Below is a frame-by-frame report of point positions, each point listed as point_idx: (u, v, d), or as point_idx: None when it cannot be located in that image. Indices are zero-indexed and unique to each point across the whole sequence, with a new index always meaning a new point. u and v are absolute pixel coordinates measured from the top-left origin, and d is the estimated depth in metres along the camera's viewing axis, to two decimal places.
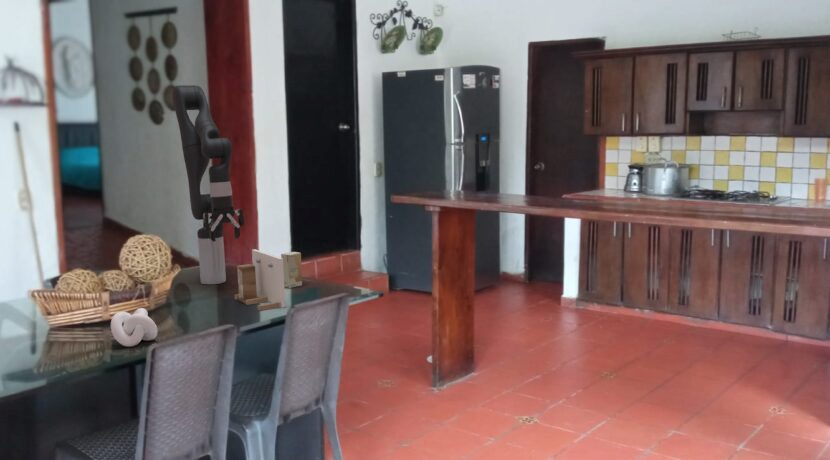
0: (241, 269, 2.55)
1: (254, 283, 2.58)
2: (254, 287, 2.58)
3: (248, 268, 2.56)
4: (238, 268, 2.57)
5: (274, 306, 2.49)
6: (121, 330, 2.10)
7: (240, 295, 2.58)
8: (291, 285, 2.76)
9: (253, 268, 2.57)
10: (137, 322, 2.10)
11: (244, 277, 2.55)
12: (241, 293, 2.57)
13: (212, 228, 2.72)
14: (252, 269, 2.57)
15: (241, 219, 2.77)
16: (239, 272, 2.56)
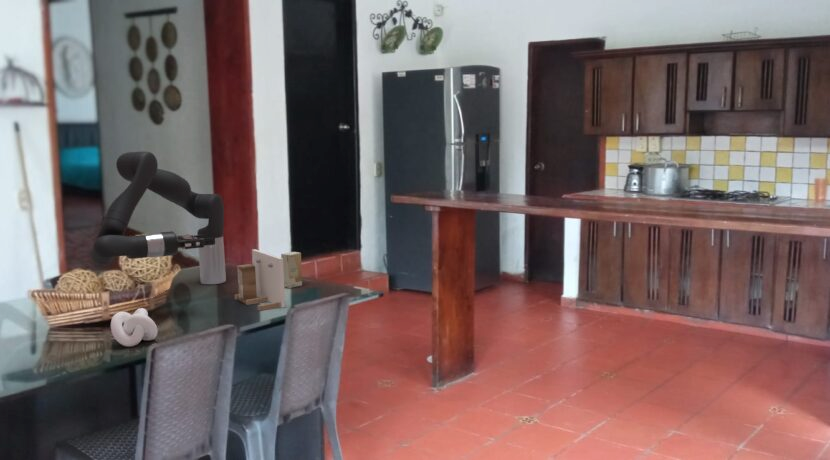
0: (241, 269, 2.55)
1: (254, 283, 2.58)
2: (254, 287, 2.58)
3: (248, 268, 2.56)
4: (238, 268, 2.57)
5: (274, 306, 2.49)
6: (121, 330, 2.10)
7: (240, 295, 2.58)
8: (291, 285, 2.76)
9: (253, 268, 2.57)
10: (137, 322, 2.10)
11: (244, 277, 2.55)
12: (241, 293, 2.57)
13: None
14: (252, 269, 2.57)
15: None
16: (239, 272, 2.57)
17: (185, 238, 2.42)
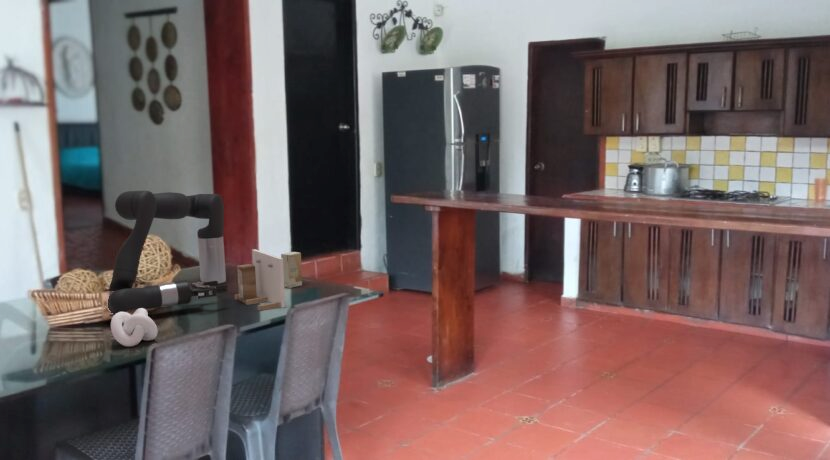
0: (241, 269, 2.55)
1: (254, 283, 2.58)
2: (254, 287, 2.58)
3: (248, 268, 2.56)
4: (238, 268, 2.57)
5: (274, 306, 2.49)
6: (121, 330, 2.10)
7: (240, 295, 2.58)
8: (291, 285, 2.76)
9: (253, 268, 2.57)
10: (137, 322, 2.10)
11: (244, 277, 2.55)
12: (241, 293, 2.57)
13: None
14: (252, 269, 2.57)
15: None
16: (239, 272, 2.57)
17: (198, 286, 2.47)
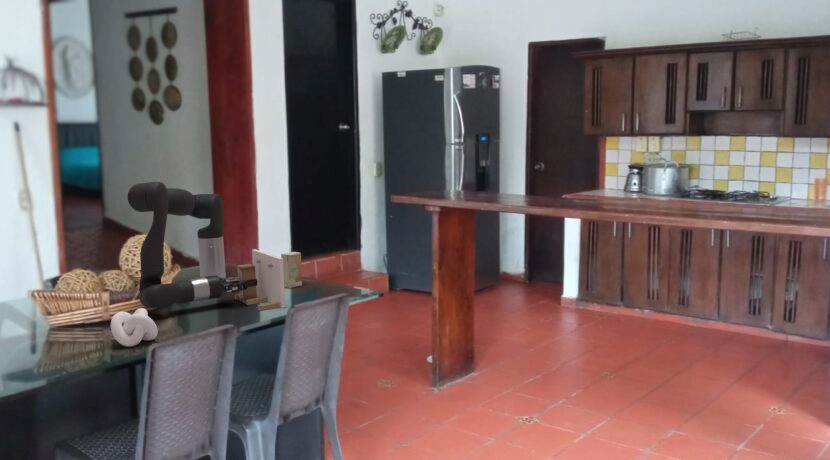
0: (241, 269, 2.55)
1: None
2: (254, 287, 2.58)
3: (248, 268, 2.56)
4: (238, 268, 2.57)
5: (274, 306, 2.49)
6: (121, 330, 2.10)
7: (240, 295, 2.58)
8: (291, 285, 2.76)
9: (253, 268, 2.57)
10: (137, 322, 2.10)
11: (244, 277, 2.55)
12: (241, 293, 2.57)
13: None
14: (252, 269, 2.57)
15: None
16: (239, 272, 2.56)
17: (229, 281, 2.53)
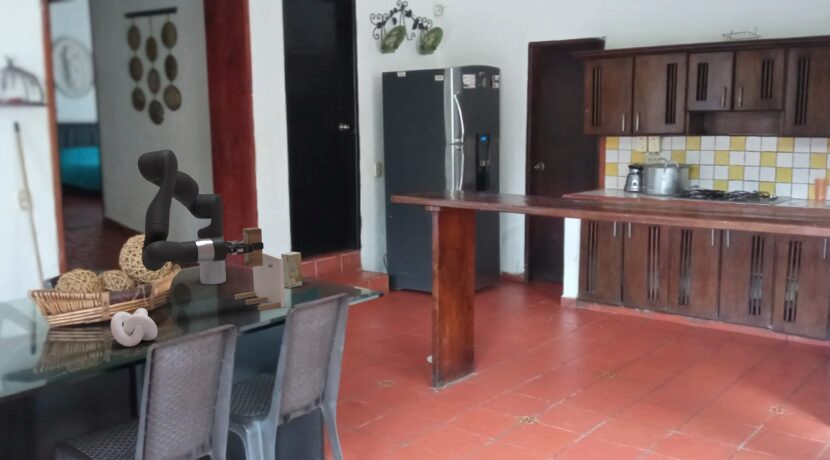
0: (247, 231, 2.46)
1: None
2: (260, 251, 2.49)
3: (254, 231, 2.47)
4: (244, 231, 2.49)
5: (274, 306, 2.49)
6: (121, 330, 2.10)
7: (245, 259, 2.49)
8: (291, 285, 2.76)
9: (259, 231, 2.48)
10: (137, 322, 2.10)
11: (250, 240, 2.46)
12: (246, 257, 2.49)
13: None
14: (258, 232, 2.48)
15: None
16: (245, 235, 2.48)
17: (234, 244, 2.44)
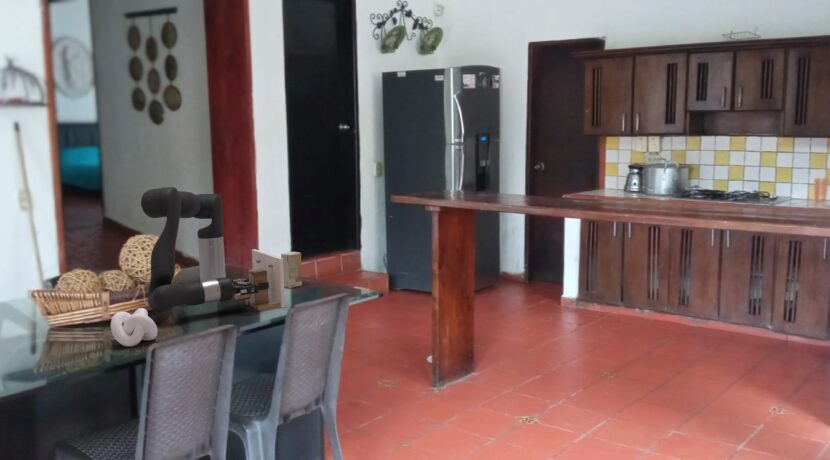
0: (252, 274, 2.47)
1: None
2: (266, 292, 2.50)
3: (260, 273, 2.48)
4: (249, 273, 2.49)
5: (274, 306, 2.49)
6: (121, 330, 2.10)
7: (251, 300, 2.50)
8: (291, 285, 2.76)
9: (265, 273, 2.49)
10: (137, 322, 2.10)
11: (256, 282, 2.47)
12: (252, 298, 2.50)
13: None
14: (264, 273, 2.49)
15: None
16: (250, 277, 2.49)
17: (240, 283, 2.44)
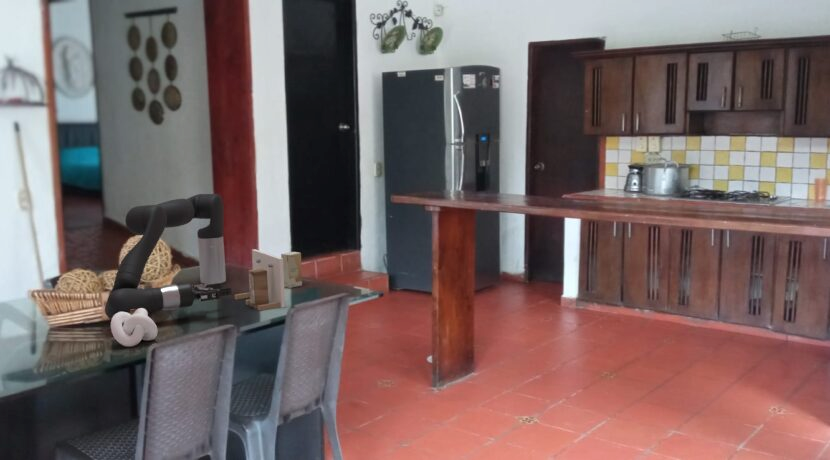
0: (252, 274, 2.47)
1: (266, 288, 2.50)
2: (266, 292, 2.50)
3: (260, 273, 2.48)
4: (249, 273, 2.49)
5: (274, 306, 2.49)
6: (121, 330, 2.10)
7: (251, 300, 2.50)
8: (291, 285, 2.76)
9: (265, 273, 2.49)
10: (137, 322, 2.10)
11: (256, 282, 2.47)
12: (252, 298, 2.50)
13: None
14: (264, 273, 2.49)
15: None
16: (250, 277, 2.49)
17: (201, 289, 2.37)
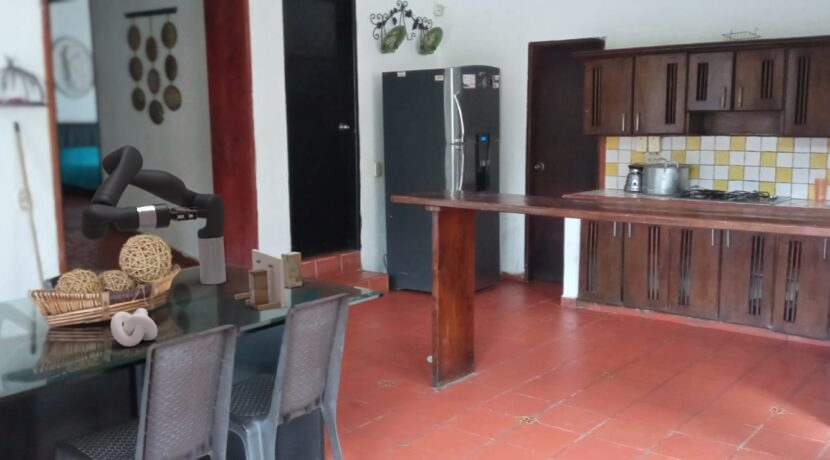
0: (253, 274, 2.47)
1: (266, 288, 2.50)
2: (266, 292, 2.50)
3: (260, 273, 2.48)
4: (249, 273, 2.49)
5: (274, 306, 2.49)
6: (121, 330, 2.10)
7: (251, 300, 2.50)
8: (291, 285, 2.76)
9: (265, 273, 2.49)
10: (137, 322, 2.10)
11: (256, 282, 2.47)
12: (252, 298, 2.50)
13: None
14: (264, 273, 2.49)
15: None
16: (250, 277, 2.49)
17: (178, 210, 2.36)
